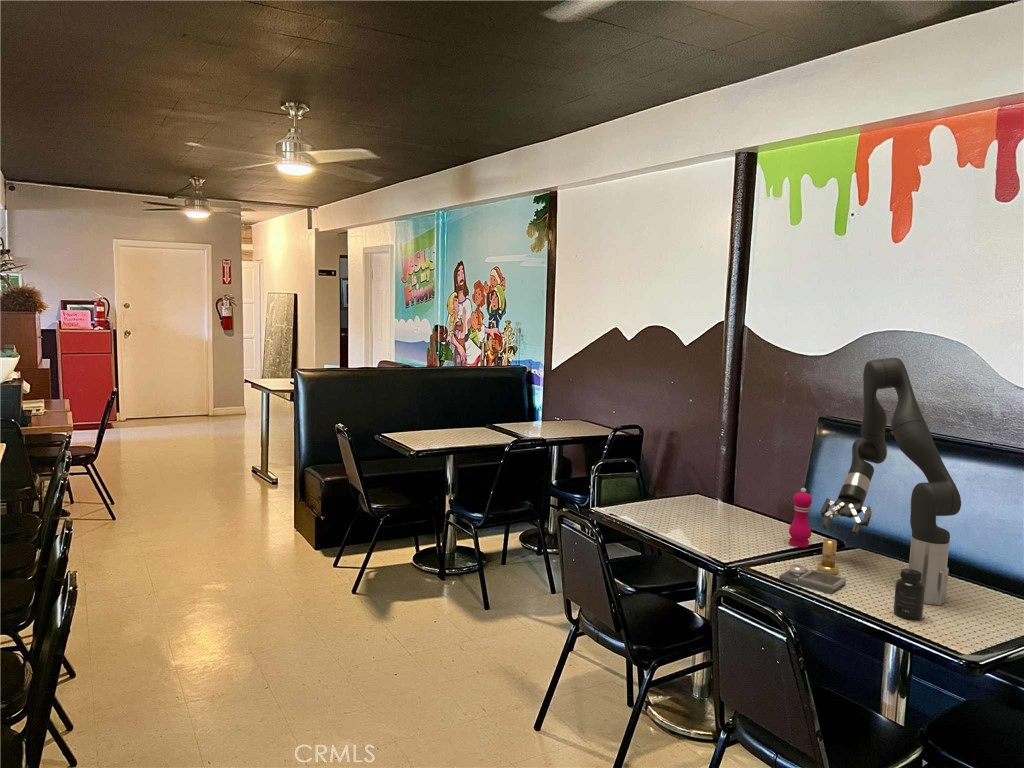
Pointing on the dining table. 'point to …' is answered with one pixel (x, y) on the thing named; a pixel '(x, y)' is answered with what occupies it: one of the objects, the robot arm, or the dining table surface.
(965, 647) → the dining table surface
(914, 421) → the robot arm
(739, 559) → the dining table surface
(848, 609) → the dining table surface
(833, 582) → the carrier
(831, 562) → the brass knob
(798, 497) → the pepper mill
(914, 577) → the supplement bottle
